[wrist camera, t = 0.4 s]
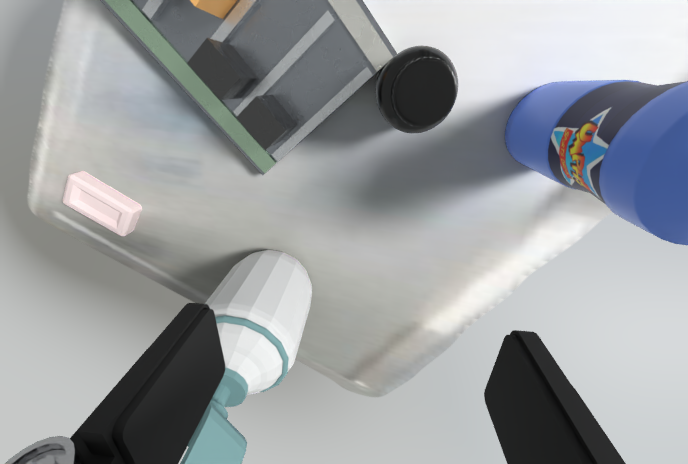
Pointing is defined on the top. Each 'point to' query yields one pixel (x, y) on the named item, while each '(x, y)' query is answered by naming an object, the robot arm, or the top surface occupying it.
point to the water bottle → (611, 147)
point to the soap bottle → (251, 344)
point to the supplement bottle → (417, 89)
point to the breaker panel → (262, 63)
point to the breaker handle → (214, 6)
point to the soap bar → (101, 203)
